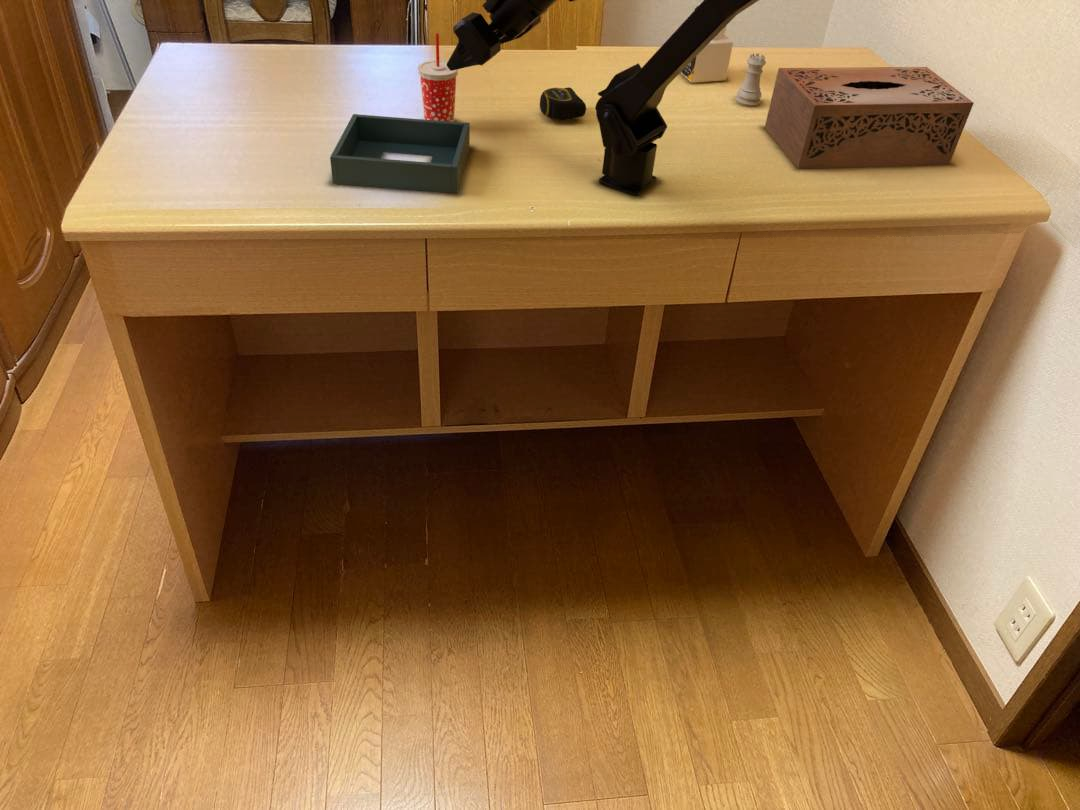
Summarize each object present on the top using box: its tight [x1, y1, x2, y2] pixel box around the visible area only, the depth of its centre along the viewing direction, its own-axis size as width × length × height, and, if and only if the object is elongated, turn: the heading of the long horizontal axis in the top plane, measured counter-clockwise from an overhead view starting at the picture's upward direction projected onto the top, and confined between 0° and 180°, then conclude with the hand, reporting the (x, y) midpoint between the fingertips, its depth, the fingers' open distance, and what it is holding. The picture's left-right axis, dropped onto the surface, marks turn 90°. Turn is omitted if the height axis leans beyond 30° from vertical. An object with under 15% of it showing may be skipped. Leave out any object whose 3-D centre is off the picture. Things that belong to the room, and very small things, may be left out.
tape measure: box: [539, 86, 587, 121], centre depth 142 cm, size 7×7×4 cm
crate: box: [329, 113, 471, 194], centre depth 126 cm, size 18×15×4 cm
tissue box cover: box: [764, 66, 975, 170], centre depth 137 cm, size 26×14×10 cm, turn 100°
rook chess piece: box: [735, 53, 767, 107], centre depth 149 cm, size 4×4×8 cm
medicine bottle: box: [679, 5, 734, 84], centre depth 156 cm, size 7×7×12 cm
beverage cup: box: [417, 32, 459, 122], centre depth 134 cm, size 6×6×14 cm
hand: (463, 57), depth 130 cm, fingers open, 9 cm apart
